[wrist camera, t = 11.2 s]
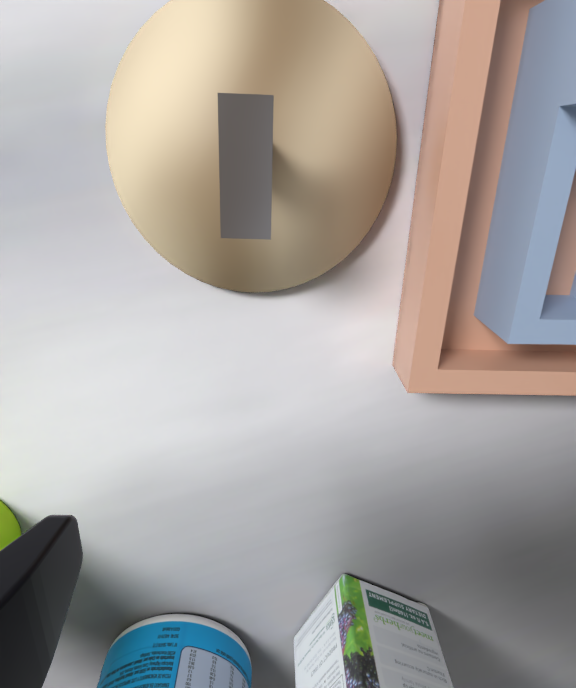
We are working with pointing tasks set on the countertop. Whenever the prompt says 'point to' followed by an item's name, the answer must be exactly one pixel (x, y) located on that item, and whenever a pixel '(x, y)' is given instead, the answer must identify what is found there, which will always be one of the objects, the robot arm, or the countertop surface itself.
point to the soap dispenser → (8, 526)
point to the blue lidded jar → (177, 655)
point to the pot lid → (251, 139)
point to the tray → (471, 217)
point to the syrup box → (368, 641)
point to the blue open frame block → (534, 188)
